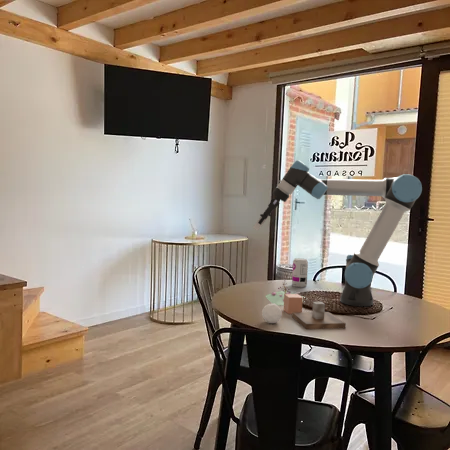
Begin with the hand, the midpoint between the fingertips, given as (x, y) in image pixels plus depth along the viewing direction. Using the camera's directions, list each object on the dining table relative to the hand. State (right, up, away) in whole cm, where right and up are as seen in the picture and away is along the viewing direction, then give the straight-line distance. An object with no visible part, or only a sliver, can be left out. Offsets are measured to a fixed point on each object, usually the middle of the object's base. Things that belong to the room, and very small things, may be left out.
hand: (257, 227), depth 211 cm
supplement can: (+26, -33, +36) cm, 56 cm away
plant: (+14, -36, +4) cm, 39 cm away
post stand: (+22, -38, -33) cm, 55 cm away
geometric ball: (+3, -38, -36) cm, 52 cm away
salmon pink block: (+14, -37, -19) cm, 43 cm away
